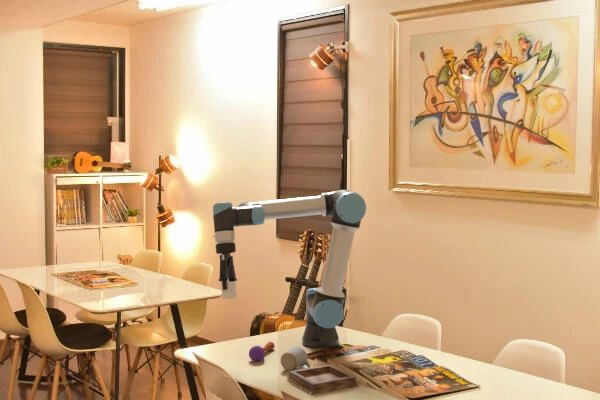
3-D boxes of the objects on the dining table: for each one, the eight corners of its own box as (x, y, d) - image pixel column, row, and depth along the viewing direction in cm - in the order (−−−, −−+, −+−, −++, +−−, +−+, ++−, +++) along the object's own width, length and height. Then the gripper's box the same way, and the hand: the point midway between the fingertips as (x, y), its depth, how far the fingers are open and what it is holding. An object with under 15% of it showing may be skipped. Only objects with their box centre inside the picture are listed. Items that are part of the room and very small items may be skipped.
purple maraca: (279, 340, 331) (263, 349, 312) (276, 354, 332) (259, 364, 313) (265, 336, 333) (248, 345, 314) (262, 350, 333) (245, 360, 314)
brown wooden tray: (331, 372, 301) (331, 363, 300) (357, 386, 285) (357, 377, 285) (287, 379, 292) (287, 371, 292) (312, 394, 276) (312, 385, 276)
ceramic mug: (279, 370, 304) (279, 349, 303) (290, 364, 311) (290, 344, 310) (303, 375, 298) (304, 354, 298) (315, 369, 305) (315, 349, 305)
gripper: (222, 245, 329) (226, 299, 326) (208, 241, 304) (213, 299, 302) (240, 243, 328) (245, 297, 326) (228, 239, 303) (233, 297, 301)
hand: (229, 298), depth 314 cm, fingers open, 13 cm apart
